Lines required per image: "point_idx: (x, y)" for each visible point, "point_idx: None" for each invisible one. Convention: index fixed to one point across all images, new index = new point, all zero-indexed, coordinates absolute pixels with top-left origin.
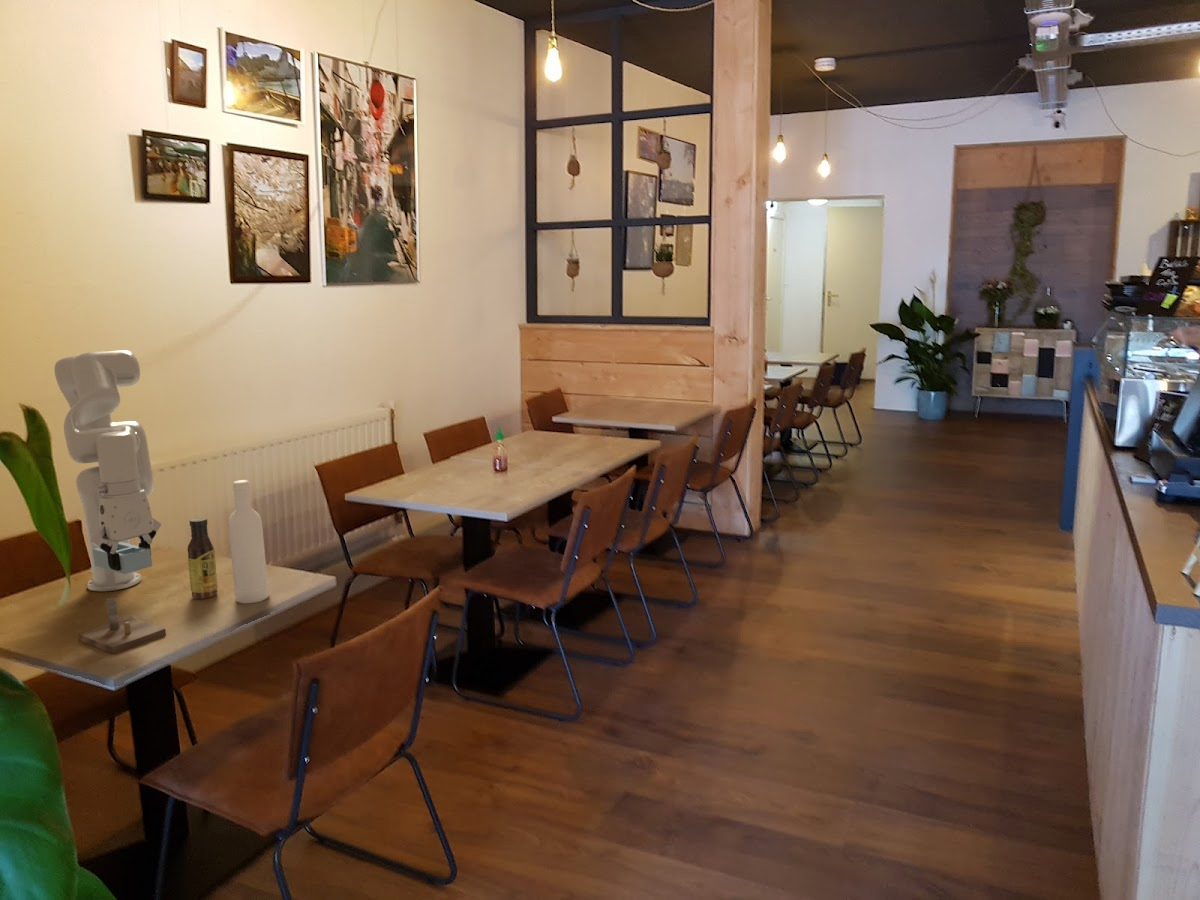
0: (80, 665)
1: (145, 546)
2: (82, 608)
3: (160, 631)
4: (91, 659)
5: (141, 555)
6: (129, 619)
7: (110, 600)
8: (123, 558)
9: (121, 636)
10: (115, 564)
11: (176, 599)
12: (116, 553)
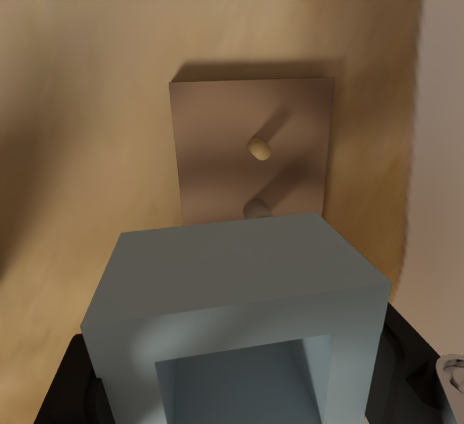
0: (404, 81)
1: (97, 403)
2: None
3: (185, 82)
4: (370, 96)
5: (195, 282)
6: None
7: None
8: (378, 271)
9: (276, 139)
10: None
11: (30, 315)
12: (427, 352)
